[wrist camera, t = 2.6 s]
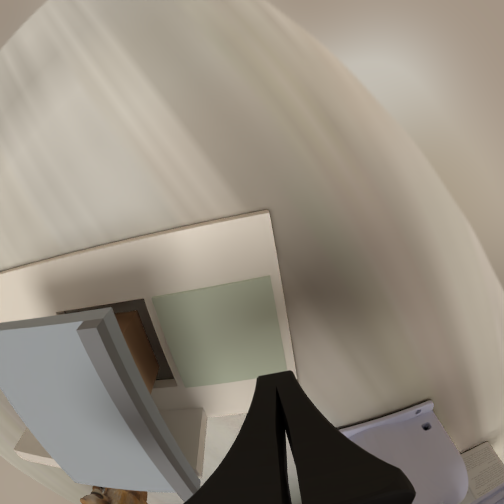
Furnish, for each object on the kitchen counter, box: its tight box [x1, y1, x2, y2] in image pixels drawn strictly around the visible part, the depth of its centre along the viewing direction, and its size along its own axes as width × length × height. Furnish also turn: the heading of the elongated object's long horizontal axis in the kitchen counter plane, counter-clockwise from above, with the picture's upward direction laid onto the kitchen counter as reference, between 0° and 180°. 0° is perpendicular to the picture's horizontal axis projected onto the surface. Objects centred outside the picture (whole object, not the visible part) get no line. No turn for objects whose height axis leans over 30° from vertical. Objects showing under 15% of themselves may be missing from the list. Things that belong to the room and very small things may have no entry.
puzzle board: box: [0, 210, 297, 478], centre depth 14 cm, size 20×12×6 cm, turn 101°
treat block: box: [115, 310, 159, 395], centre depth 15 cm, size 4×4×5 cm
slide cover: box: [0, 307, 200, 502], centre depth 11 cm, size 8×11×1 cm
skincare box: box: [459, 441, 504, 504], centre depth 19 cm, size 6×4×12 cm
